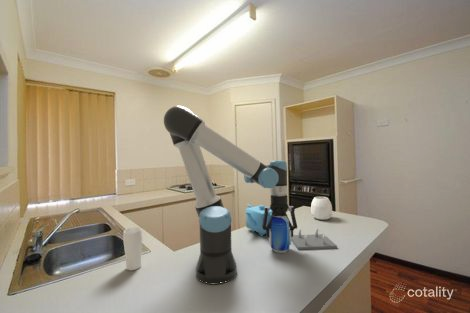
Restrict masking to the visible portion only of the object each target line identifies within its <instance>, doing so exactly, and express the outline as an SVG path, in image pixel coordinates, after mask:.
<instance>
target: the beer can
mask: <svg viewBox="0 0 470 313" xmlns="http://www.w3.org/2000/svg"><path fill="white" fill-rule="evenodd" d="M288 218H289V217H288ZM288 218H287V217H286V216H284V215H278V216H274V217H273V219H272V220H271V228H270V230H271V246H270V248H271V249H272V251H273V252H274V253H279V254H284V253H287V252H288V251H289V249H290V245H289V229H290V228H289V220H290V219H288Z"/></svg>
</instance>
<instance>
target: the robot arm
mask: <svg viewBox="0 0 470 313" xmlns="http://www.w3.org/2000/svg"><path fill="white" fill-rule="evenodd" d="M163 116H164V117H163V125H164V128H165V130H166V131H167V132H168V133H169V135H170V139H171V141H172V144H173V146H174V147H175V148H177V149H178V150H179V153H180V156H181V159H182V161H183V164H184V165H183V166H184V168H185V170H186V173H187V176H188V178H189V183H190V185H191V188H192V191H193V194H194V196H195V200H196V202H195V205H194V208H195V211H196V215H197V217H198V223H199V250H200V252H199V257H198V260H197V263H196V267H195V277H196V276H197V277H196V279H197V278H198V279H199V280H198V279H197V280H198V281H200V280H201V281H203V282H207V283H220V282H225V281H228V280H230V279H232V278H233V277H234V276H235V275H236V276H237V272H238V271H237V270H238V268H237V262H236V260H235V258H234V255H233V252H232V251H233V250H232V215H231V211H230V210H229V209H228V208H227V207H224V203H223V201H222V198H221V196H219V195H217V193H216V191H215V188H214V185H213V182H212V179H211V176H210V172H209V170H208V167H207V164H206V161H205V158H204V155H203V152H202V149H201V148H203V149H204V150H205V151H207V152H208V153H210V154H212V155H213V156H214V157H217V159H220V160H221V161H222V162H224V163H226V164H227V165H229V166H230V167H232V168H234V169H235V170H236V171H238V172H240V174H242V175H243V179H244V183H246V184H248V183H249V184H253V183H254V184H255V183H256V184H258V185H259V186H261V187H262V188H264V189H270V205H269V206H266V207H264V211H265V212H264V218H263V224H262V228H263V230H266V234H265V236H266V238H267V239H268V245H269V246H270V247H271V230H270V228H271V220H272V219H273V217H274V216H278V215H284V216H286V217H287V218H288V219H289V217H288V214H287V212H288V211H289V212H290V217H291V221H290V219H289V246H292V241H291V237H293V235H294V230H296V229H298V224H297V223H298V222H297V219H296V215H295V213H296V212H295V210H296V207H295V206H293V205H289V204H288V195H287V194H288V165H287V161H285V160H280V159H279V160H270V161H269V164H268V165H266V164H264V163H263V162H261V161H260V160H258V159H257V158H256V157H254V156H253V155H251V154H249V153H248V152H246V151H245V150H243V149H242V148H241V147H239V146H237V145H236V144H234V143H233V142H232V141H230V140H228V139H227V138H225V137H224V136H222V135H221V134H219V133H218V132H216V131H215V130H213V129H212V128H210V127H209V126H208V125H206V123H205V120H203V119H202V118H201V117H199V116H198V115H196V114H195V113H194V112H193V111H192V110H191V109H189V108H187V107H185V106H182V105H174V106H172V107H170V108H169V109H168V110H167V111H165V113H164V115H163ZM270 209H271V210H272V214H271V217H270V219H269V222H268V224H267V226H266V223H267V217H268V212H269V210H270ZM236 276H235V277H236ZM235 277H234V278H235ZM234 278H233V279H234ZM233 279H232V280H233ZM201 281H200V282H201ZM230 281H231V280H230ZM203 282H202V283H203ZM228 282H229V281H228ZM225 283H226V282H225Z"/></svg>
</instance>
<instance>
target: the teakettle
mask: <svg viewBox="0 0 470 313" xmlns="http://www.w3.org/2000/svg"><path fill="white" fill-rule="evenodd" d="M246 206H247V208H245V211H244V212H243V214H245V221H246V222H245V223H246V224H245V228H247V229H250V232H251V231H252V232H251V233H256V232H257V233H258V236H259V235H262V236H261V237H264V236H265V235H266V230H263V228H262V224H263V218H264V212H265V211H264V207H267V206H265V205H264V204H259V205H257V206H252V205H251V204H249V203H247V204H246ZM271 214H272V210H271V209H270V210H269V212H268V217H267V223H266V226H267V224H268V222H269V219H270V217H271ZM255 231H256V232H255ZM263 235H264V236H263Z"/></svg>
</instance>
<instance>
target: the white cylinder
mask: <svg viewBox="0 0 470 313" xmlns="http://www.w3.org/2000/svg"><path fill="white" fill-rule="evenodd" d="M122 240H123V249H124V257H125V263H126V264H125V266H126V270H127V271H136V270H138V269H139V268H141V266H142V250H143V229H142V228H141V227H136V226H135V227H129V228H127V229H125V230H123V235H122Z"/></svg>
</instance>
